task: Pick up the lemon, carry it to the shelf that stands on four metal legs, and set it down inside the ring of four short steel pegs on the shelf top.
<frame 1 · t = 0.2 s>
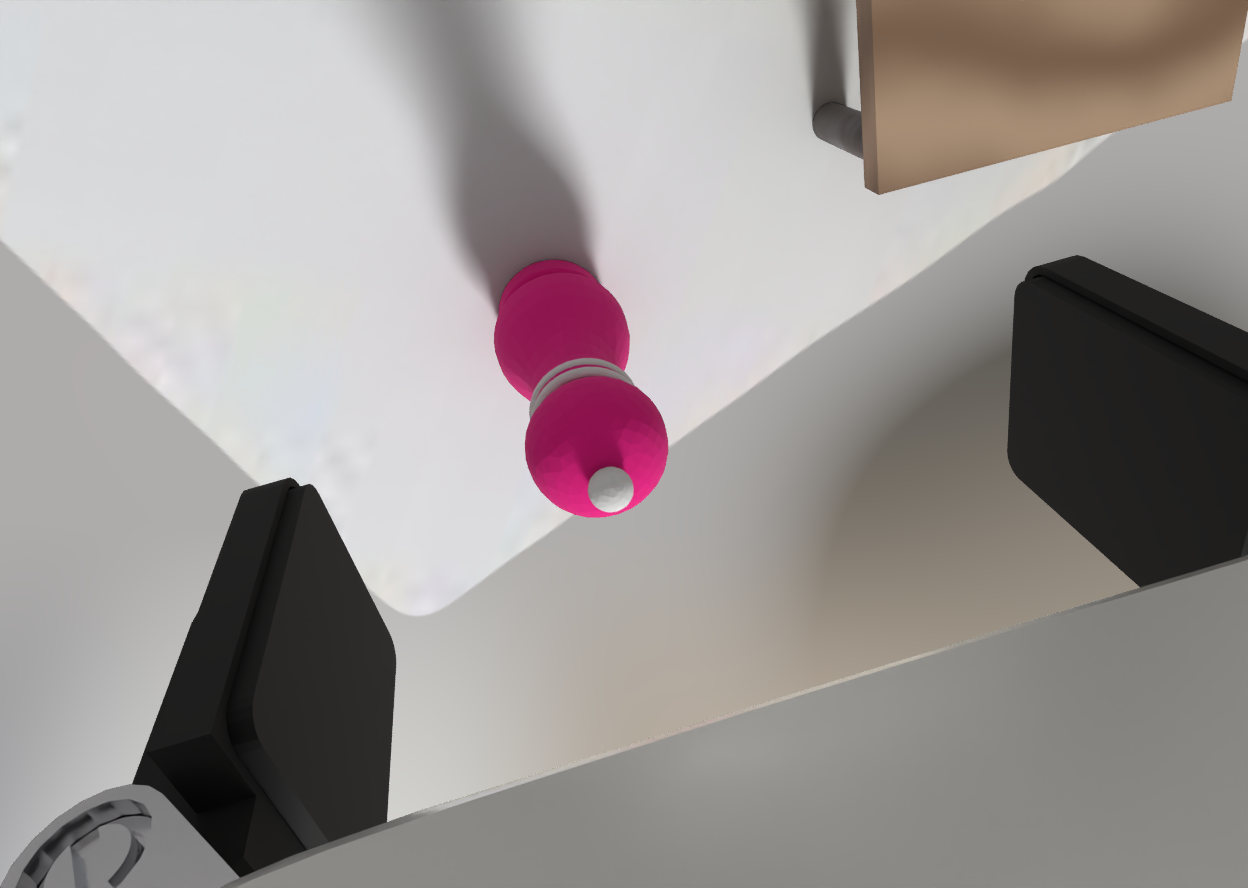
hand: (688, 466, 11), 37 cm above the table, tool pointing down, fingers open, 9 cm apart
pepper mill: (552, 309, 48), on the table
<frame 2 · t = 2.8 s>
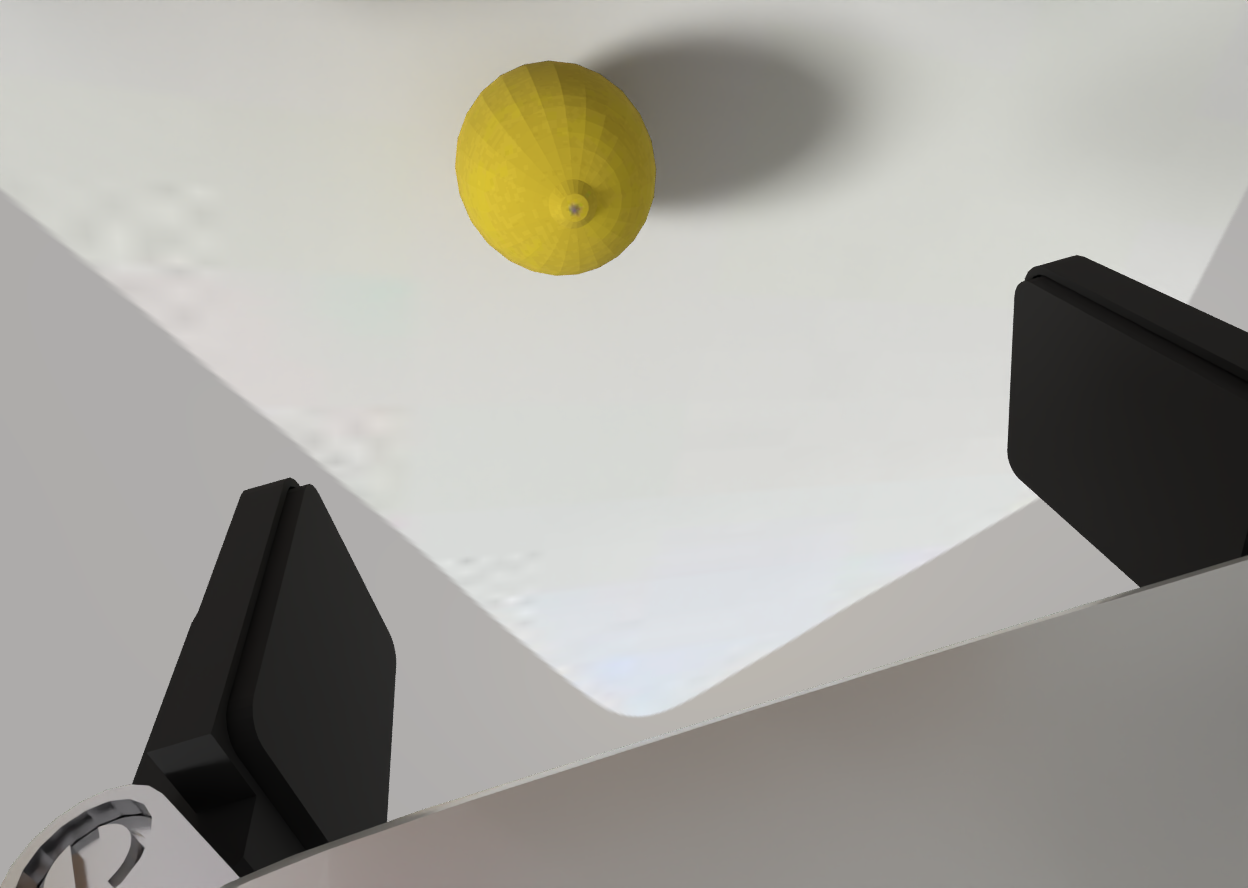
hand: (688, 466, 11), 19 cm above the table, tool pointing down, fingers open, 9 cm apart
lemon: (540, 139, 27), on the table
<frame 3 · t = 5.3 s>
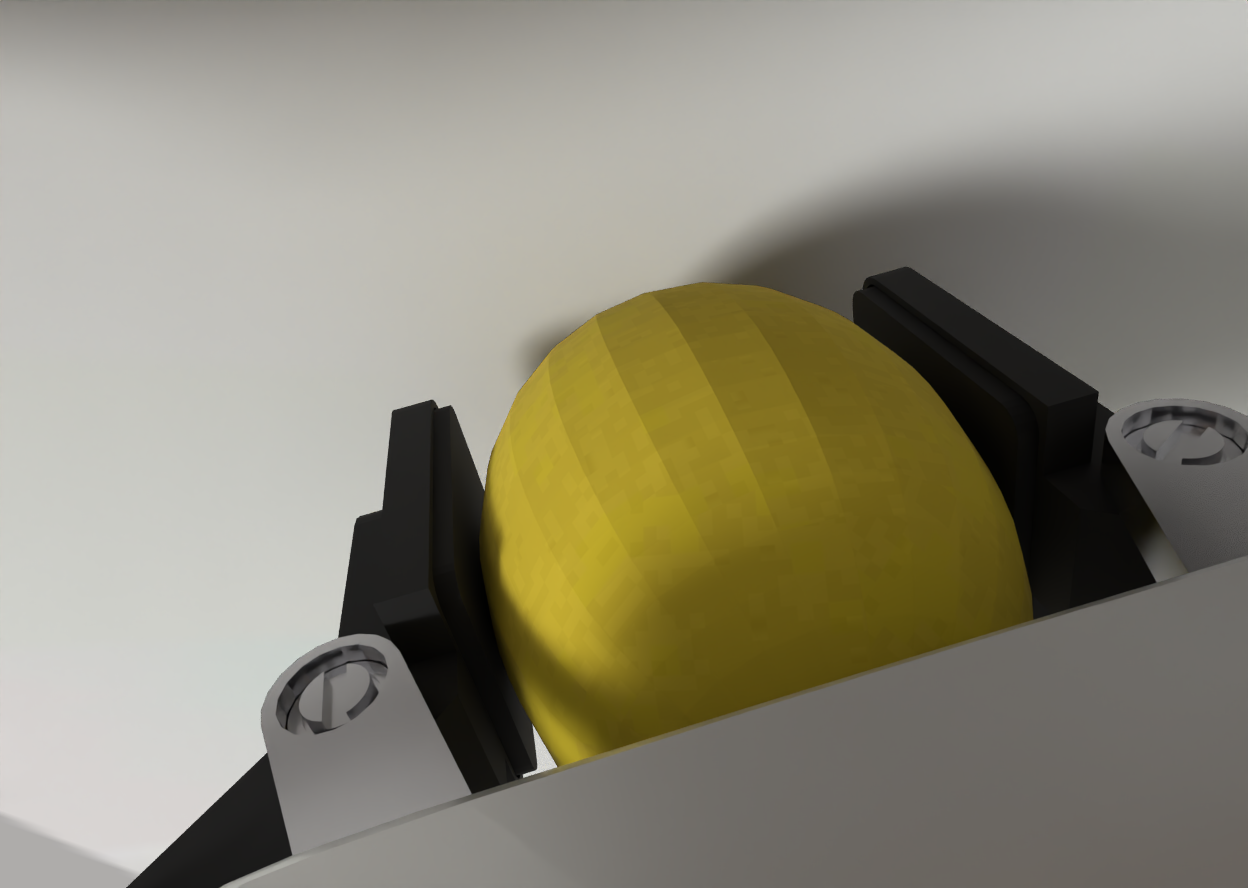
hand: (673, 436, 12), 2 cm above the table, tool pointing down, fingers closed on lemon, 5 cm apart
lemon: (647, 382, 13), on the table, touching gripper
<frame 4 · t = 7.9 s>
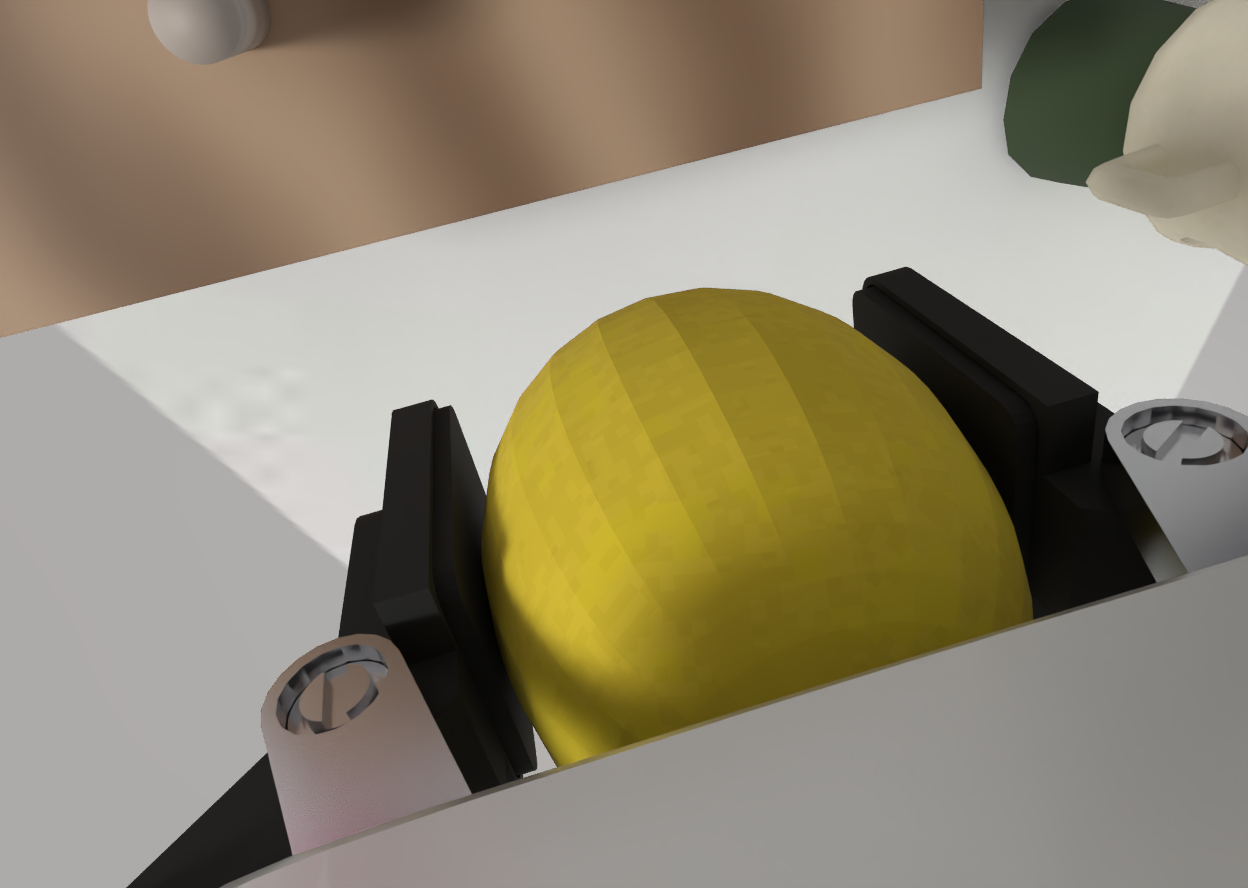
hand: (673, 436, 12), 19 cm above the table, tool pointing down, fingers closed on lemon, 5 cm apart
lemon: (647, 385, 13), point 17 cm above the table, touching gripper
character mug: (1066, 88, 30), on the table
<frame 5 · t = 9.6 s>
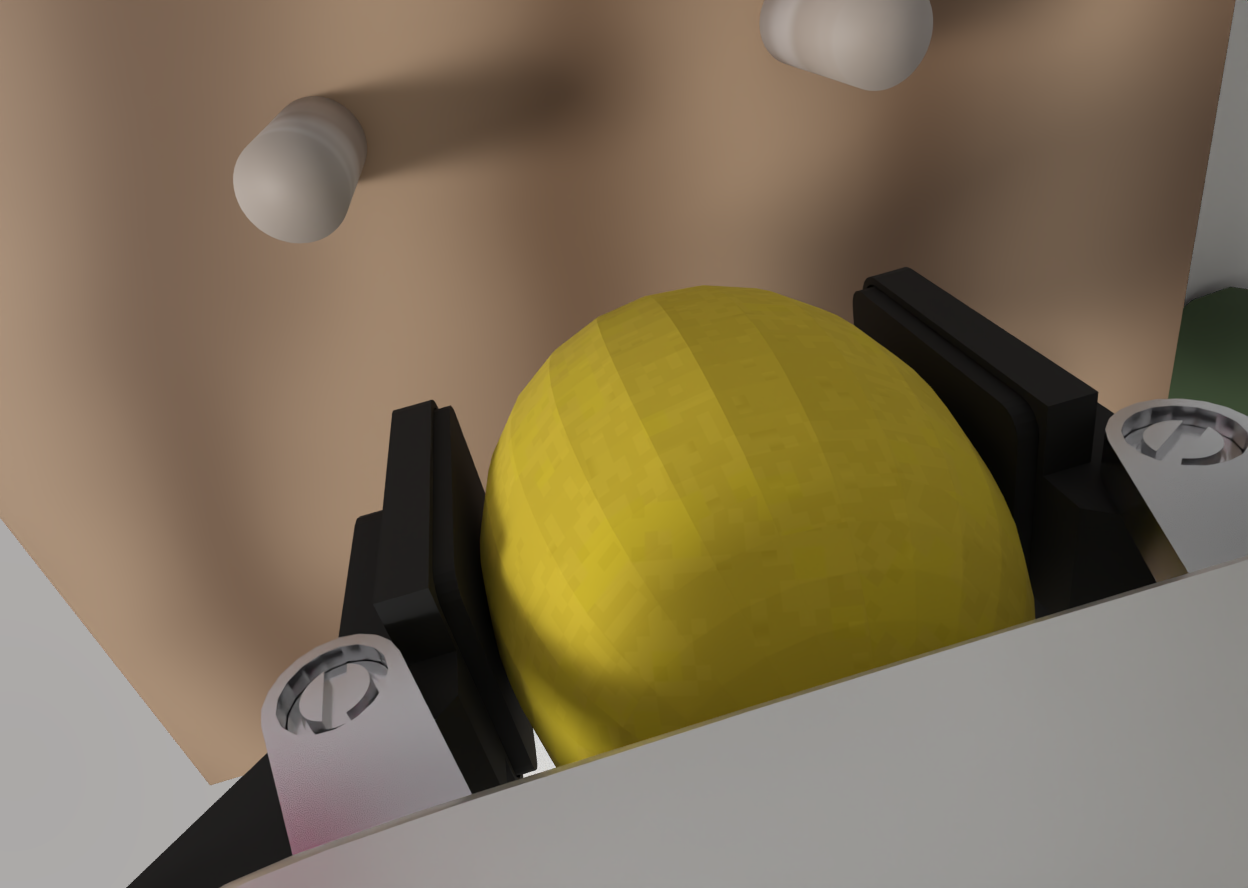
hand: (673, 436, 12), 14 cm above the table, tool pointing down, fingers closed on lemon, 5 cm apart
peg shelf: (558, 189, 23), on the table
lemon: (647, 384, 13), point 12 cm above the table, touching gripper
character mug: (1184, 360, 31), on the table
when the fingers open (11 cm above the table, at t = 10.9 s): lemon stays where it is, resting on peg shelf.
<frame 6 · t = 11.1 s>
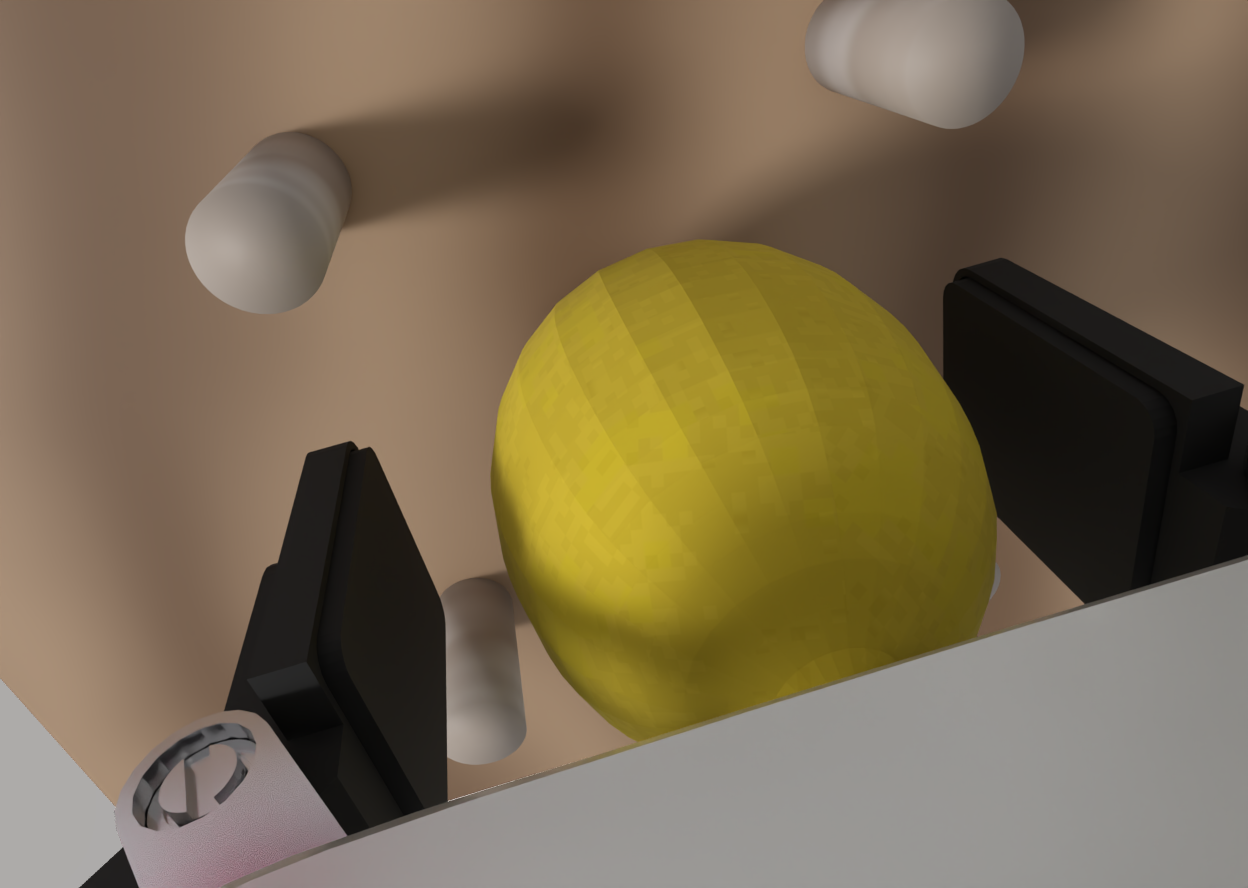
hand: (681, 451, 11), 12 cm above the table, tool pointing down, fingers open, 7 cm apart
peg shelf: (565, 218, 21), on the table
lemon: (648, 346, 14), point 9 cm above the table, touching peg shelf
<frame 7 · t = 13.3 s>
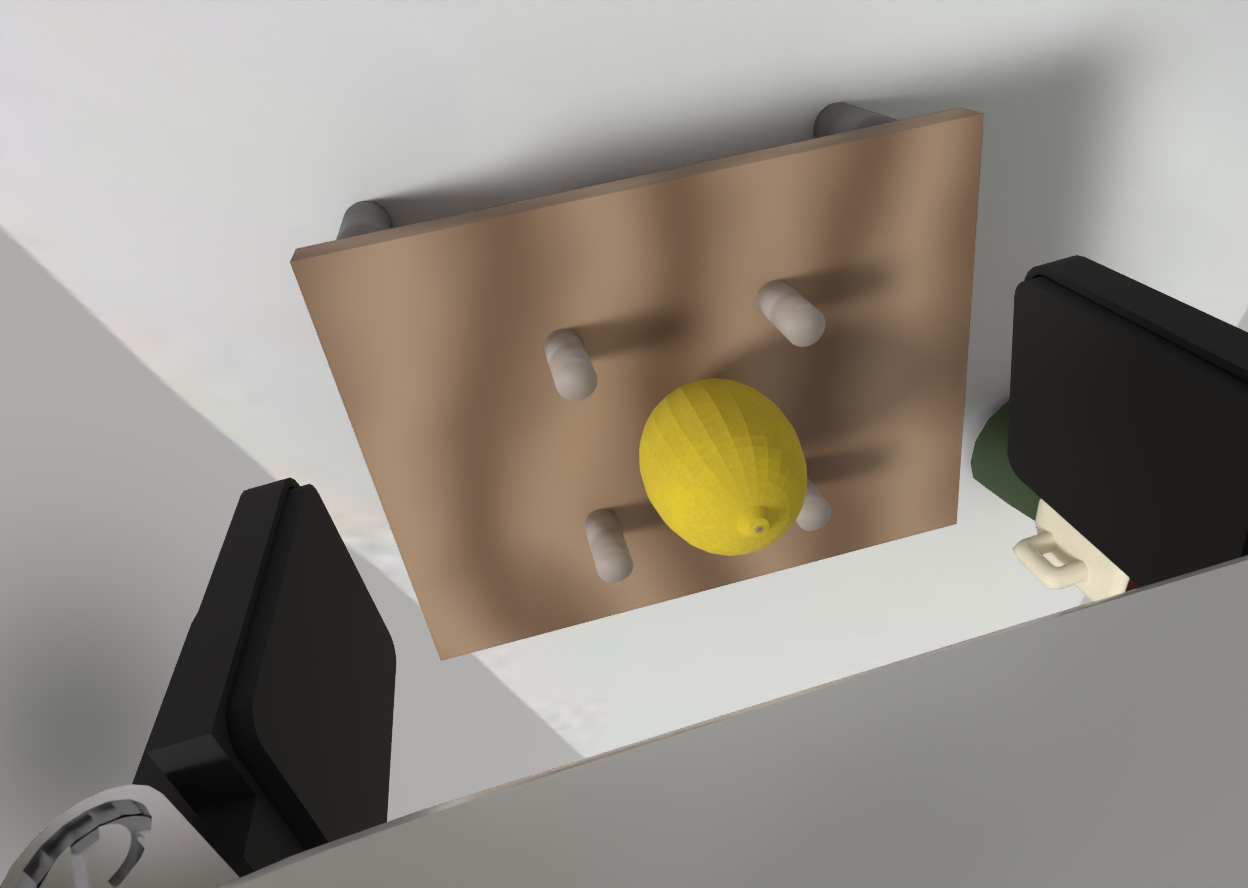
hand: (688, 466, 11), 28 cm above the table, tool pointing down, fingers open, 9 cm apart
peg shelf: (633, 331, 40), on the table
lemon: (688, 409, 32), point 9 cm above the table, touching peg shelf
character mug: (1010, 437, 48), on the table
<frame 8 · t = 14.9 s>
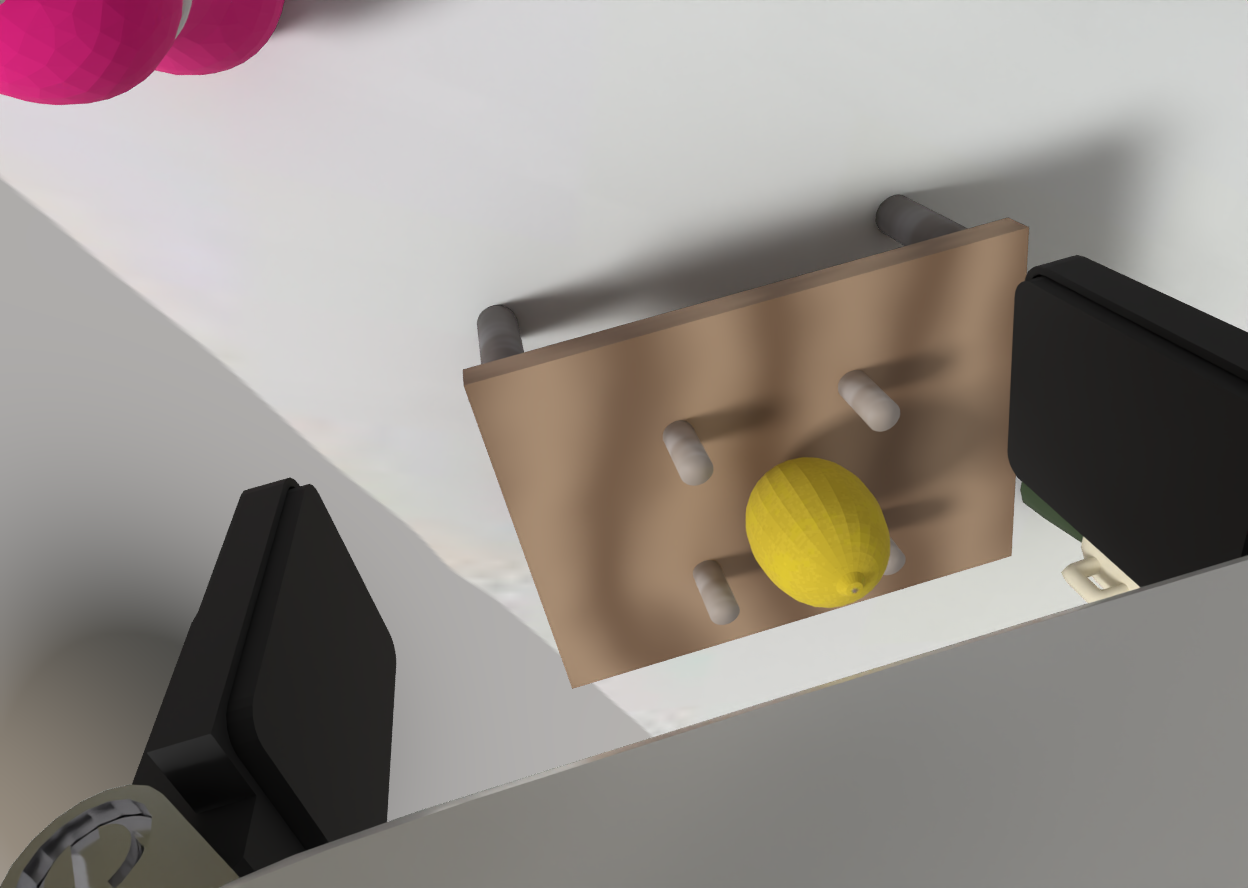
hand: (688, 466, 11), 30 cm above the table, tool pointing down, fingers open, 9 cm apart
peg shelf: (720, 395, 46), on the table
lemon: (779, 476, 38), point 9 cm above the table, touching peg shelf
character mug: (1056, 464, 54), on the table
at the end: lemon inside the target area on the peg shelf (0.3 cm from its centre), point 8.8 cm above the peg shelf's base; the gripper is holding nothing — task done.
